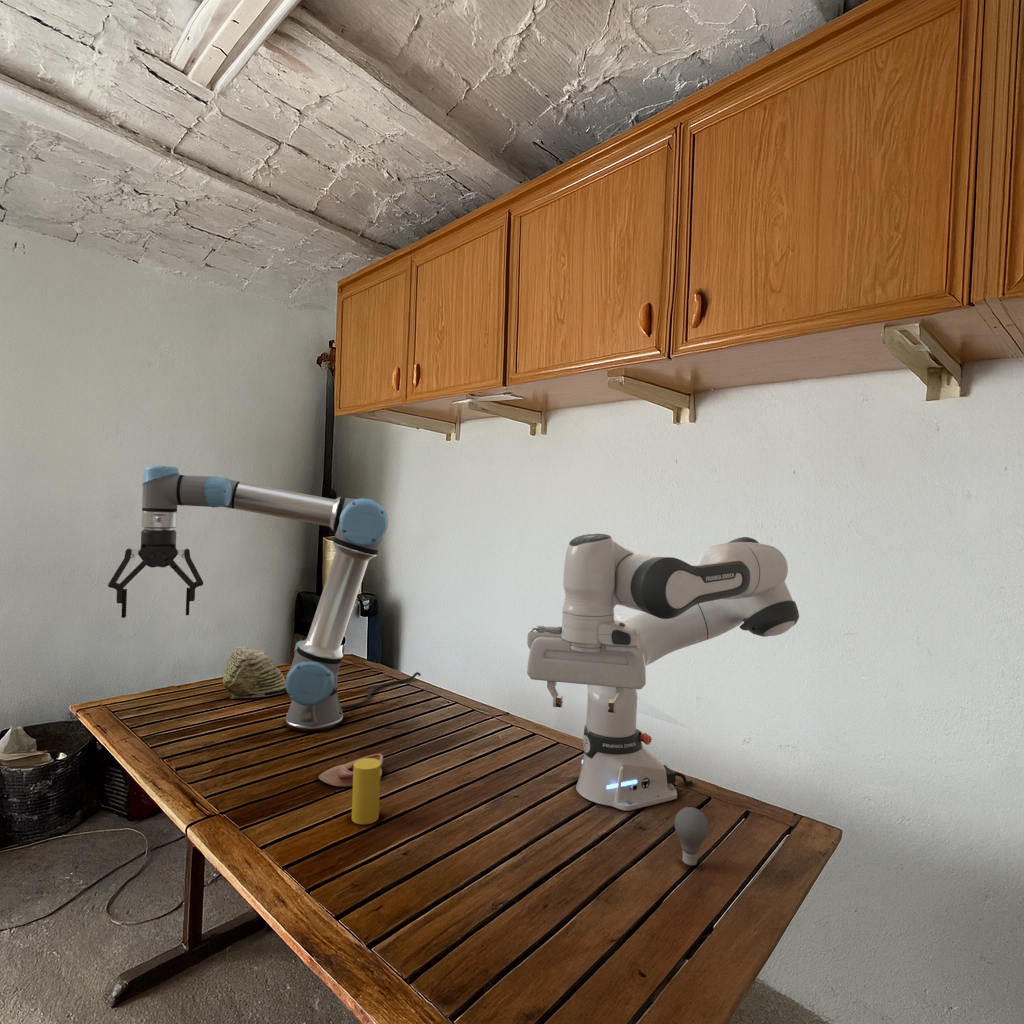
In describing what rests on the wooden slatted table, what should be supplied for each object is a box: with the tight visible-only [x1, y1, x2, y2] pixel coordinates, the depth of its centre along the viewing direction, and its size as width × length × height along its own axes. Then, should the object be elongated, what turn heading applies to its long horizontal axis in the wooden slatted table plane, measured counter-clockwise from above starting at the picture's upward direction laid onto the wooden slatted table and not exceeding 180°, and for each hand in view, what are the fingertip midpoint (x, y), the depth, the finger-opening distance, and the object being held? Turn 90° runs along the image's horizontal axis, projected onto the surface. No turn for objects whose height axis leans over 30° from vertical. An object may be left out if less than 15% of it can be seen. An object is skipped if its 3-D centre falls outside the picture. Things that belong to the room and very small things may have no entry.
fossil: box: [222, 646, 286, 699], centre depth 198 cm, size 9×18×15 cm, turn 132°
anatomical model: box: [318, 753, 384, 787], centre depth 144 cm, size 13×4×12 cm
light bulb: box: [673, 806, 710, 866], centre depth 114 cm, size 6×6×10 cm
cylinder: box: [351, 758, 382, 825], centre depth 126 cm, size 5×5×11 cm
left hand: (156, 615), depth 155 cm, fingers open, 13 cm apart
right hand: (584, 709), depth 109 cm, fingers open, 8 cm apart
